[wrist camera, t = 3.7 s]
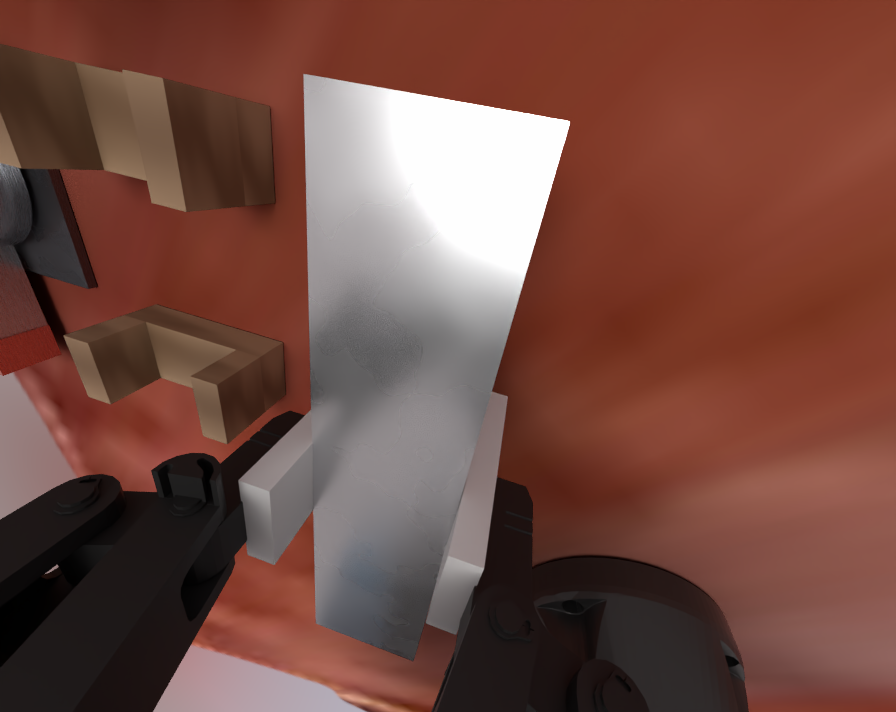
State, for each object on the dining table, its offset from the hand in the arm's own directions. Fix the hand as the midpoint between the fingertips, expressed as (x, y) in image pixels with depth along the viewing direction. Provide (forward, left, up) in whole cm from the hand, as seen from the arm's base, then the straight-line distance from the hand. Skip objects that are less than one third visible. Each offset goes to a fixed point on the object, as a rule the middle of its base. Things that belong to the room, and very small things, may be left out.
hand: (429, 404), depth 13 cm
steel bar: (0, 0, -1) cm, 1 cm away
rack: (+1, +15, -6) cm, 16 cm away
